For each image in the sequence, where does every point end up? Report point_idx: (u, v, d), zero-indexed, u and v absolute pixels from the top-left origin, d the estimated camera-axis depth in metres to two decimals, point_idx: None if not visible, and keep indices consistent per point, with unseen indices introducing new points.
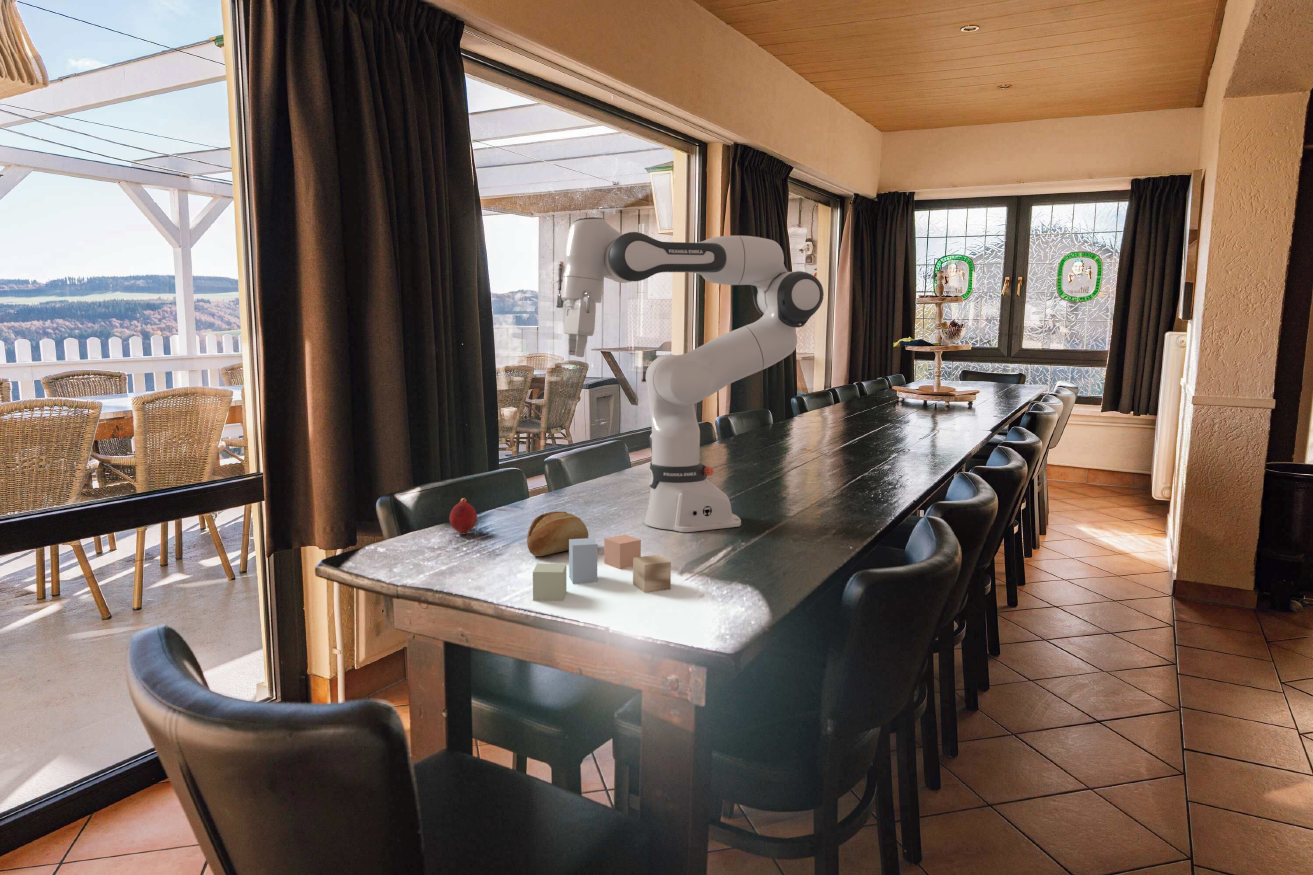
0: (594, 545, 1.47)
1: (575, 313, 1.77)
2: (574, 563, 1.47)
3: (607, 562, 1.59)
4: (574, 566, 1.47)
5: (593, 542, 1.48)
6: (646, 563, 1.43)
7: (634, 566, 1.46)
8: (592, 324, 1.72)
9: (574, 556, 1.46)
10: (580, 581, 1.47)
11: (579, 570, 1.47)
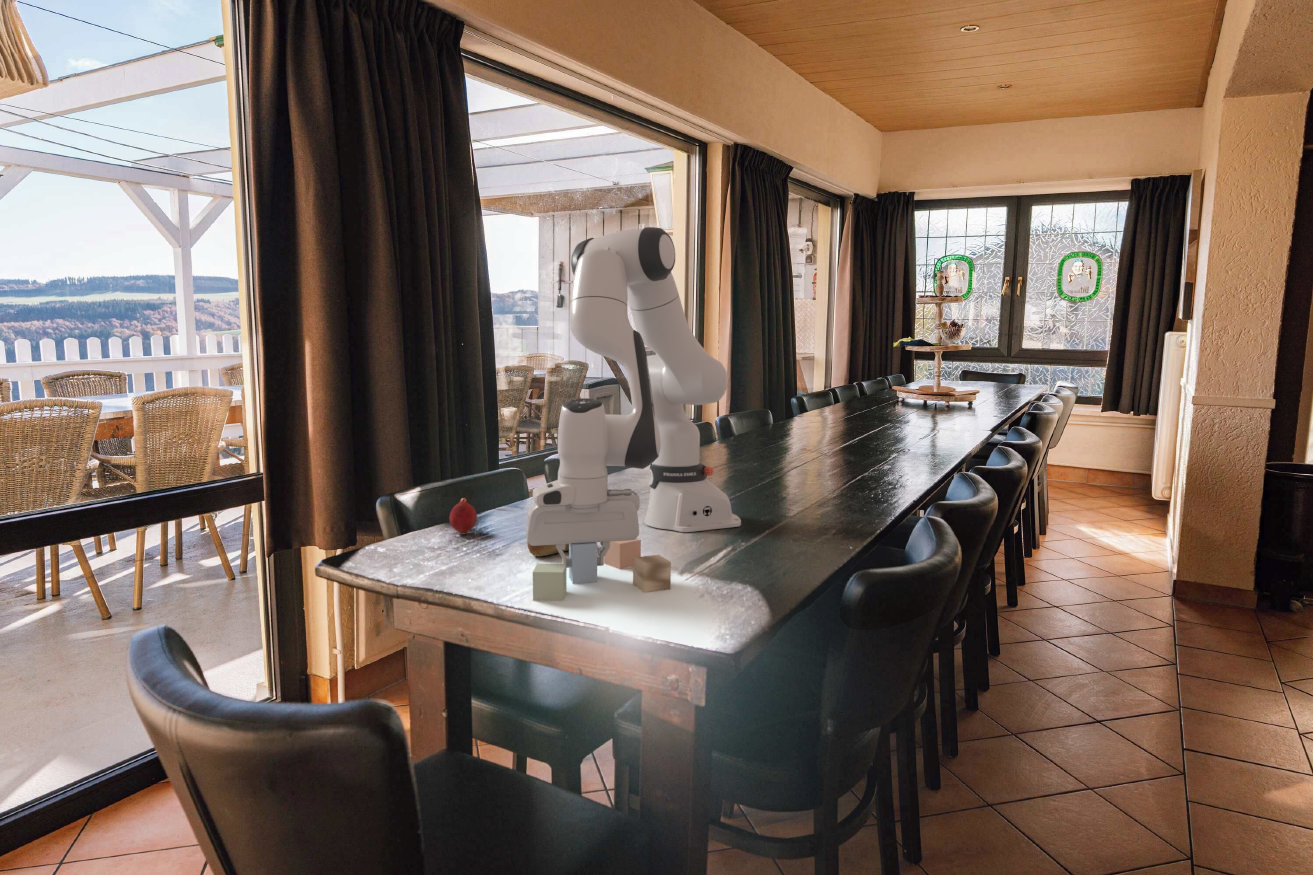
0: (594, 545, 1.47)
1: (603, 517, 1.48)
2: (574, 563, 1.47)
3: (607, 562, 1.59)
4: (574, 566, 1.47)
5: (593, 542, 1.48)
6: (646, 563, 1.43)
7: (634, 566, 1.46)
8: None
9: (574, 556, 1.46)
10: (580, 580, 1.47)
11: (579, 570, 1.47)
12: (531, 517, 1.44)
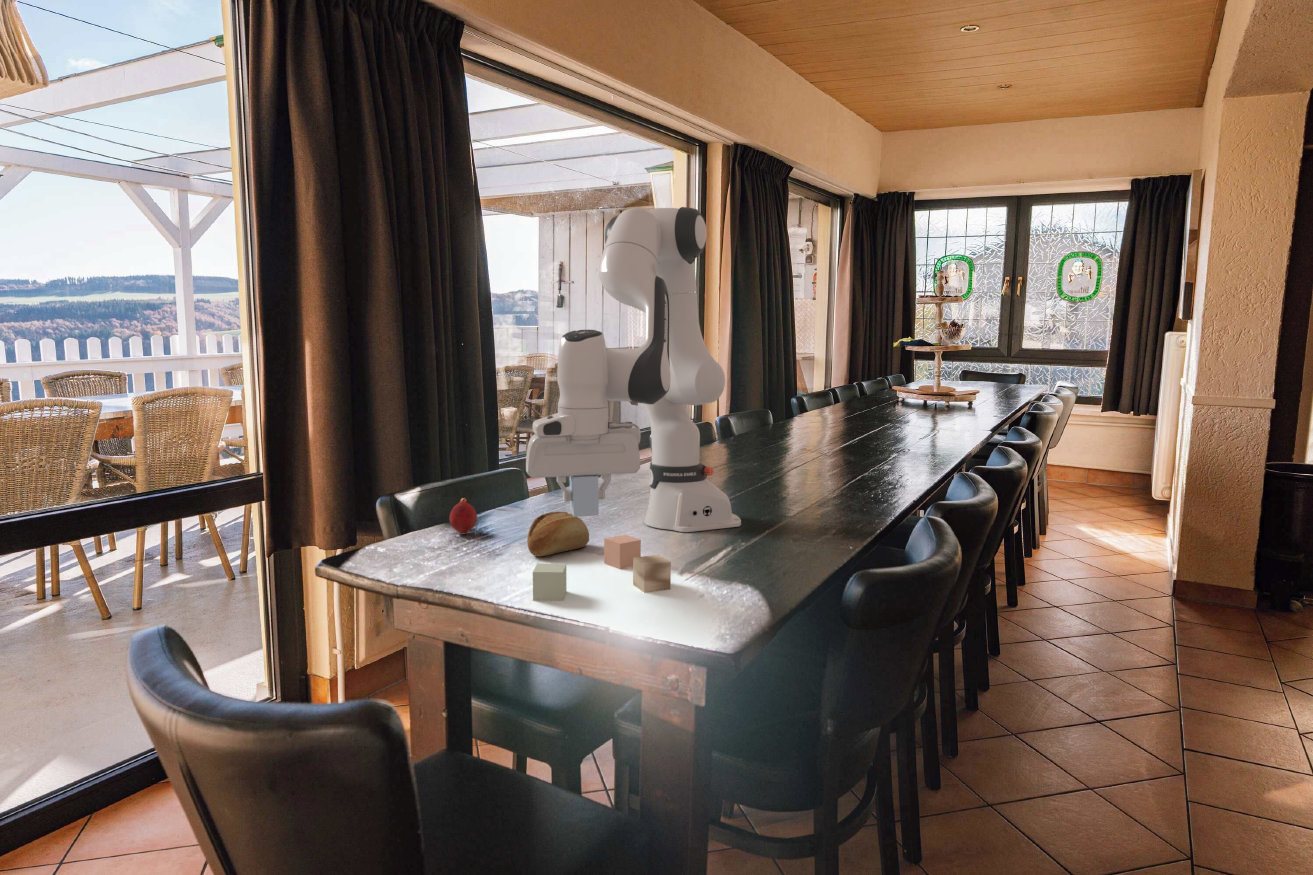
0: (595, 477, 1.46)
1: (604, 449, 1.46)
2: (575, 496, 1.45)
3: (607, 562, 1.59)
4: (575, 499, 1.45)
5: (594, 475, 1.47)
6: (646, 563, 1.43)
7: (634, 566, 1.46)
8: None
9: (575, 488, 1.45)
10: (581, 513, 1.46)
11: (580, 503, 1.46)
12: (531, 448, 1.42)
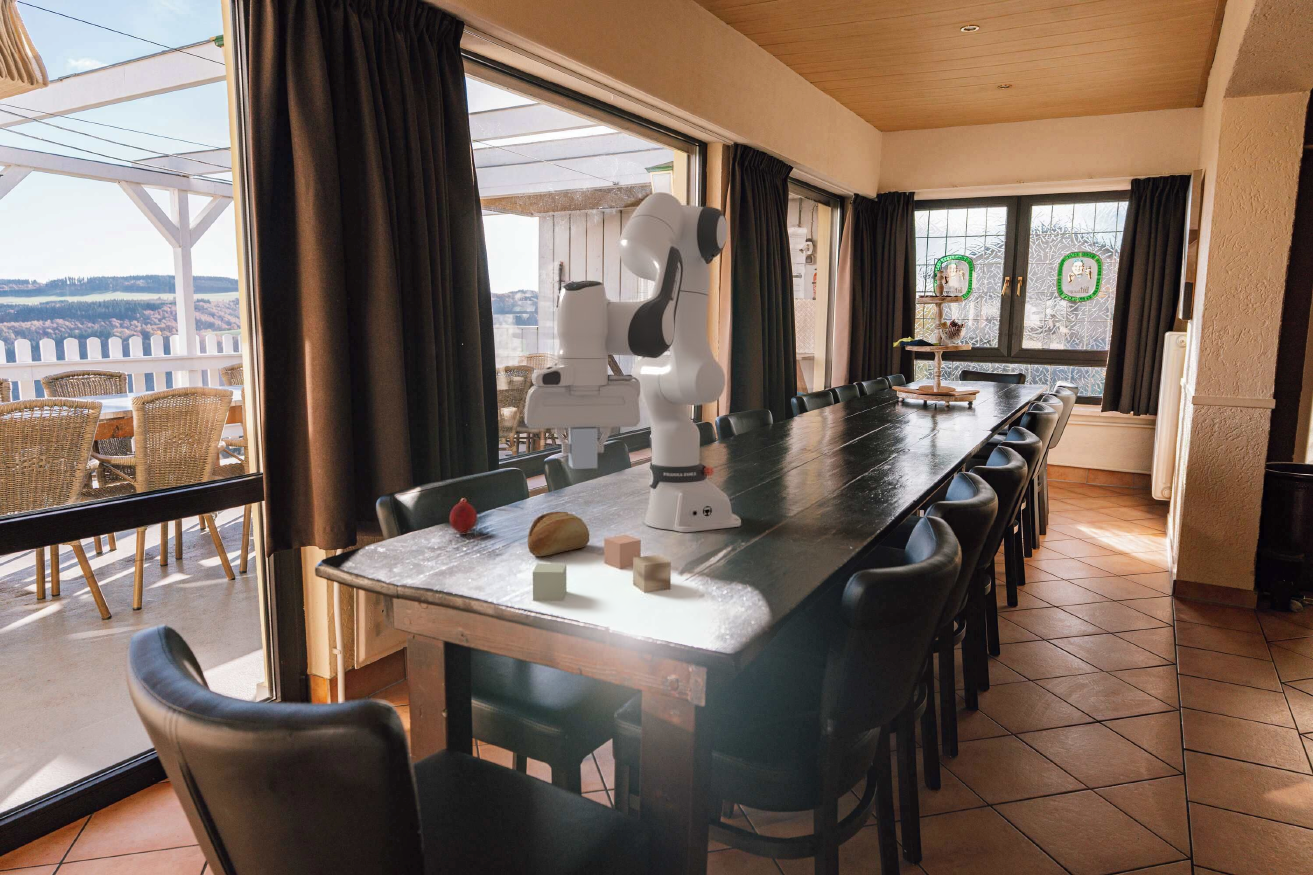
0: (594, 429, 1.44)
1: (604, 402, 1.45)
2: (574, 447, 1.44)
3: (607, 562, 1.59)
4: (574, 451, 1.44)
5: None
6: (646, 563, 1.43)
7: (634, 566, 1.46)
8: None
9: (574, 440, 1.44)
10: (580, 466, 1.45)
11: (579, 455, 1.44)
12: (530, 398, 1.41)
